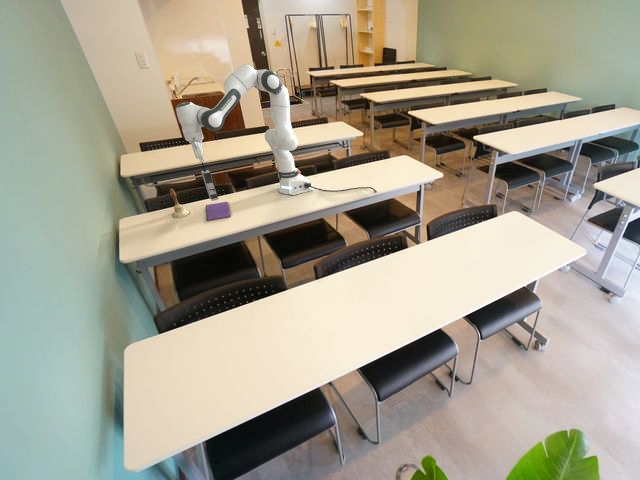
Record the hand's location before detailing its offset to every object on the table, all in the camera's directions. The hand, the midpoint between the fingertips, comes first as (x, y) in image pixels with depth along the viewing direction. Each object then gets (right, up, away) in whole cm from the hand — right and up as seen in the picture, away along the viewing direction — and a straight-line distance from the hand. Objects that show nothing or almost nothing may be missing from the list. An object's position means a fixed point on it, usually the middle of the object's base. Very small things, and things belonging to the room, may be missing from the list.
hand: (202, 161), depth 189 cm
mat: (0, -25, +17) cm, 30 cm away
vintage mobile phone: (0, -19, +12) cm, 22 cm away
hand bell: (-20, -27, +14) cm, 37 cm away
